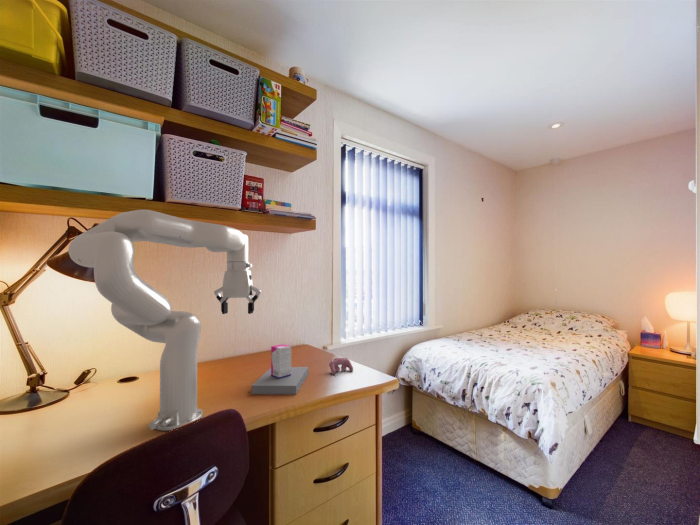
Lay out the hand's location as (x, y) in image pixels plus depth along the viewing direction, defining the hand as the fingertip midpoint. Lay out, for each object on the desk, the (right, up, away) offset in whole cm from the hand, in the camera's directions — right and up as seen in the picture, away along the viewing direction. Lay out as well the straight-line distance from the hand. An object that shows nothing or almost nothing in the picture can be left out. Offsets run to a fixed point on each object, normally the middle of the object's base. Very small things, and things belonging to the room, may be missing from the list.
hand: (237, 313), depth 111 cm
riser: (+15, -28, +7) cm, 33 cm away
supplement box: (+14, -26, +7) cm, 30 cm away
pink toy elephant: (+37, -29, +20) cm, 51 cm away
